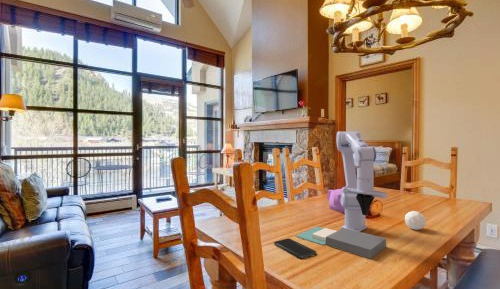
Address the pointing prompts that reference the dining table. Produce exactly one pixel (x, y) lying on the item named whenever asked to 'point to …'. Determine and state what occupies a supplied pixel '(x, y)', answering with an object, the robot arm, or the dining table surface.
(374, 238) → the block
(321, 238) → the tile
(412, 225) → the geometric ball
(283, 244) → the phone
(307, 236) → the mat
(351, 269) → the dining table surface
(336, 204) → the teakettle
